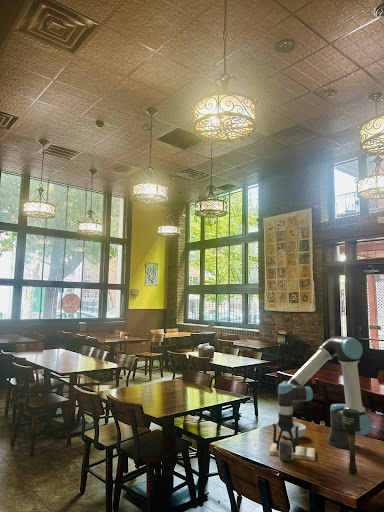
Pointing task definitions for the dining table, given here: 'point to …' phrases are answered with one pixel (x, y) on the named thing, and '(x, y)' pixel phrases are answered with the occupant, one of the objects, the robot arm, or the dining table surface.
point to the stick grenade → (351, 434)
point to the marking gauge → (286, 451)
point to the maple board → (299, 454)
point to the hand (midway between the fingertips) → (286, 457)
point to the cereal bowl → (300, 431)
